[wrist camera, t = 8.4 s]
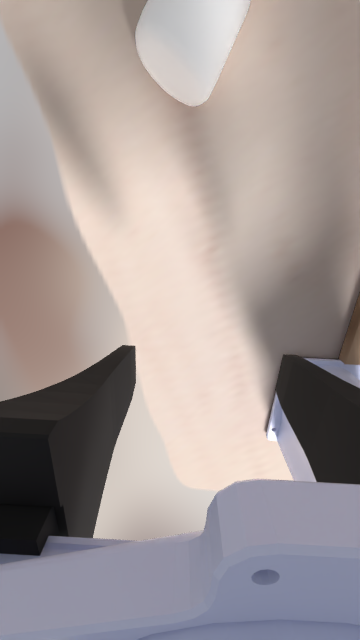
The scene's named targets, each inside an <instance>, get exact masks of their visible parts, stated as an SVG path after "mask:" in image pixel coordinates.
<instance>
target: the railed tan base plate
mask: <svg viewBox="0 0 360 640" xmlns="http://www.w3.org/2000/svg"><path fill="white" fill-rule="evenodd" d="M339 359H340V360H341V361H342V362H343V363H344V364H349V365H360V293H359V296H358V299H357V303H356V306H355V309H354V312H353V315H352V318H351V321H350V324H349V327H348V331H347V334H346V337H345V340H344V343H343V346H342V349H341V352H340V355H339Z"/></svg>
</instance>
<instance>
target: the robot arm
mask: <svg viewBox="0 0 360 640" xmlns="http://www.w3.org/2000/svg"><path fill="white" fill-rule="evenodd" d="M135 383H136V360H135V346H126V345H122V346H121V347H119V348H118V349H117V350H115V351H114V352H112V353H111V354H110V355H108V356H106V357H105V358H103V359H102V360H100V361H99V362H97V363H96V364H94V365H92V366H91V367H89V368H87V369H86V370H84V371H82V372H80V373H79V374H77V375H75V376H73V377H71V378H68V379H66V380H64V381H62V382H60V383H57V384H55V385H52V386H50V387H47V388H44V389H42V390H39V391H36V392H33V393H30V394H27V395H23V396H20V397H17V398H13V399H9V400H5V401H1V402H0V640H360V365H349V364H344V363H343V362H342V361H341V360H334V359H316V358H302V357H299V356H297V355H284V354H283V359H282V363H281V367H280V372H279V376H278V380H277V385H276V389H275V390H276V394H275V398H274V403H273V407H272V411H271V416H270V420H269V424H268V429H267V433H266V436H267V439H268V440H271V441H277V442H278V444H279V446H280V449H281V451H282V453H283V456H284V458H285V460H286V463H287V465H288V468H289V470H290V472H291V475H292V477H293V479H294V481H288V480H270V479H252V480H245V481H237V482H234V483H233V484H231V485H229V486H227V487H226V488H224V489H222V490H220V491H219V492H218V493H217V494H216V495H215V497H214V499H213V500H212V502H211V504H210V506H209V507H208V510H207V518H206V524H205V528H204V530H201V531H195V532H189V533H184V534H178V535H171V536H165V537H159V538H154V539H147V540H142V541H132V540H116V539H115V540H114V539H98V538H93V534H94V529H95V524H96V520H97V516H98V511H99V507H100V503H101V498H102V494H103V490H104V486H105V482H106V478H107V474H108V470H109V466H110V462H111V458H112V454H113V450H114V447H115V444H116V441H117V438H118V435H119V433H120V430H121V427H122V425H123V422H124V419H125V416H126V414H127V411H128V408H129V406H130V403H131V400H132V396H133V391H134V388H135ZM274 427H275V428H274ZM272 428H273V429H272Z"/></svg>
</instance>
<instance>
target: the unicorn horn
mask: <svg viewBox="0 0 360 640" xmlns="http://www.w3.org/2000/svg"><path fill="white" fill-rule="evenodd" d="M250 1H251V0H148V1H147V3H146V5H145V7H144V9H143V11H142V14H141V16H140V19H139V21H138V24H137V28H136V31H135V41H136V47H137V52H138V55H139V57H140V59H141V61H142V63H143V65H144V67H145V69H146V70H147V71H148V73H149V74H150V75H151V77H152V78H153V79H154V81H155V82H156V83H157V84H158V85H159V86H160V87H161V88H162V89H163V90H164V91H165V92H167V93H168V94H169V95H171V96H172V97H173V98H175V99H176V100H177V101H179V102H181V103H184V104H186V105H188V106H199V105H201V104H203V103H204V102H205V101H207V100H208V98H209V96H210V95H211V93H212V91H213V89H214V87H215V85H216V83H217V80H218V78H219V76H220V74H221V71H222V69H223V67H224V64H225V62H226V60H227V58H228V55H229V53H230V51H231V49H232V46H233V44H234V42H235V40H236V37H237V35H238V33H239V30H240V28H241V26H242V24H243V21H244V19H245V17H246V14H247V12H248V9H249V6H250Z"/></svg>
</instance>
